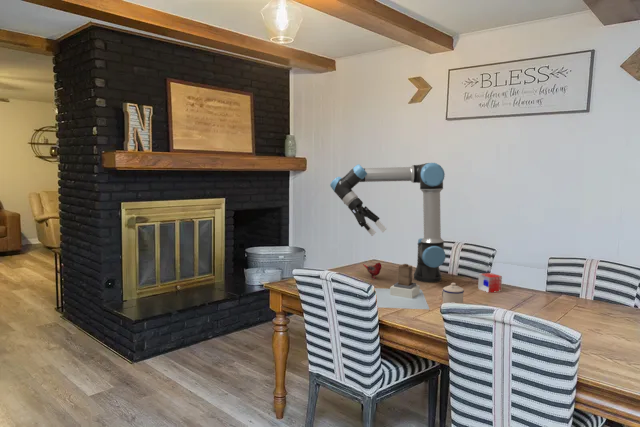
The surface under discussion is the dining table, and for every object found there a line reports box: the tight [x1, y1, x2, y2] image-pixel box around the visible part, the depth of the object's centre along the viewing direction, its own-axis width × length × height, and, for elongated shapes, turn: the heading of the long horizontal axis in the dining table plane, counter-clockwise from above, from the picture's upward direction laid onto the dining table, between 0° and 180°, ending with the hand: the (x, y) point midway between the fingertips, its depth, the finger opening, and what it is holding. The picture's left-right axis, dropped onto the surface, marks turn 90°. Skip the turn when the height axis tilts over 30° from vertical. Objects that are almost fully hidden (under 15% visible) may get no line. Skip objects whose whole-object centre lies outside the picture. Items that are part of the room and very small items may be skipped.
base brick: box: [389, 281, 421, 299], centre depth 229 cm, size 11×11×5 cm
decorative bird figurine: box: [362, 262, 383, 280], centre depth 264 cm, size 3×18×10 cm, turn 30°
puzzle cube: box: [477, 272, 503, 293], centre depth 240 cm, size 8×8×8 cm
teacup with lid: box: [441, 282, 465, 304], centre depth 210 cm, size 12×9×12 cm
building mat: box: [374, 287, 430, 312], centre depth 222 cm, size 24×32×1 cm
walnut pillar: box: [397, 263, 413, 286], centre depth 228 cm, size 5×5×11 cm
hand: (379, 232), depth 238 cm, fingers open, 13 cm apart
